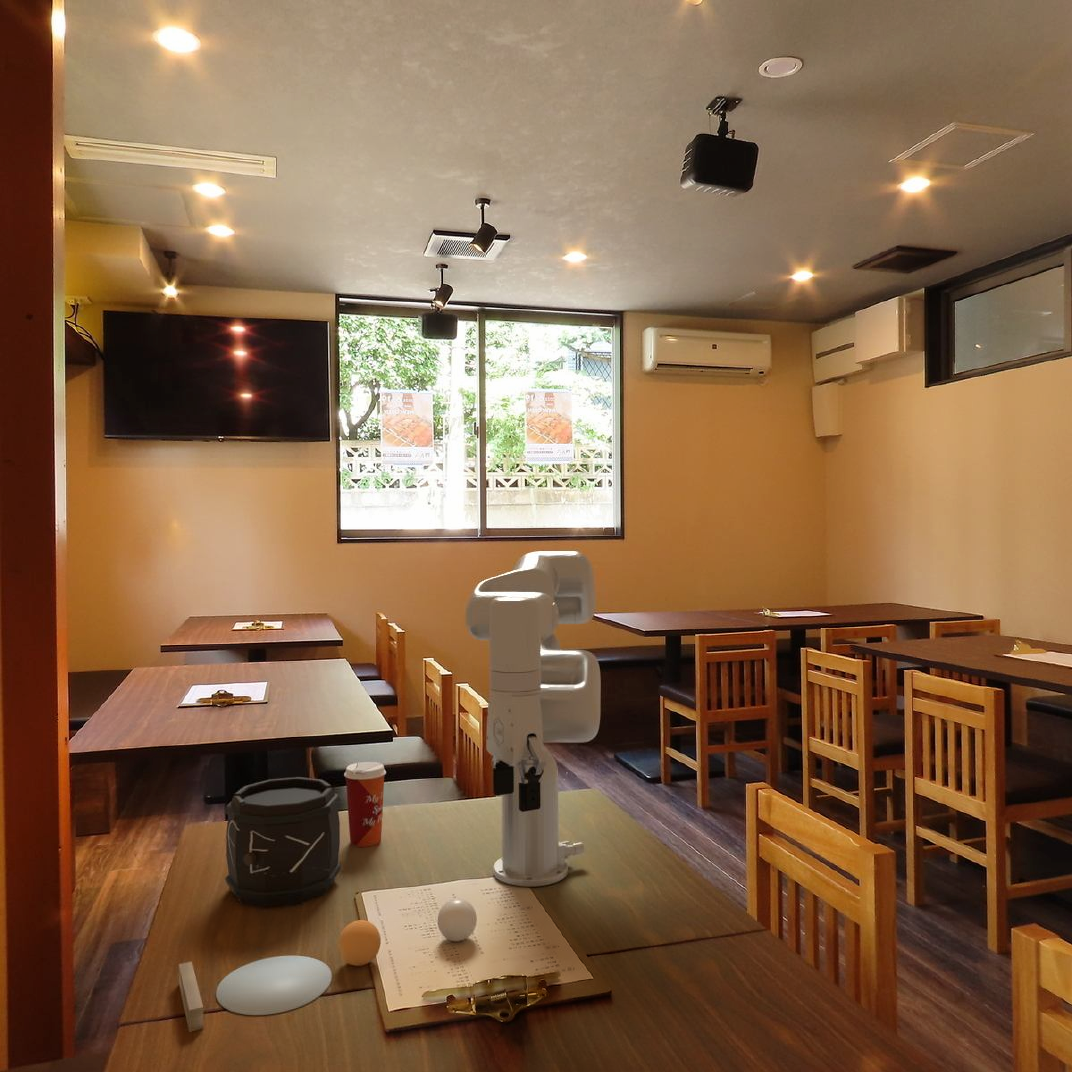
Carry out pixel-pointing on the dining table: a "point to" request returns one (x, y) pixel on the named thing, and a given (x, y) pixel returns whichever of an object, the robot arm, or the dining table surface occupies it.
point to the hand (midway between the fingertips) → (516, 801)
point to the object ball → (359, 942)
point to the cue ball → (457, 919)
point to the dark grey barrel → (282, 841)
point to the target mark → (273, 985)
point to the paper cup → (365, 802)
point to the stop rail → (190, 997)
